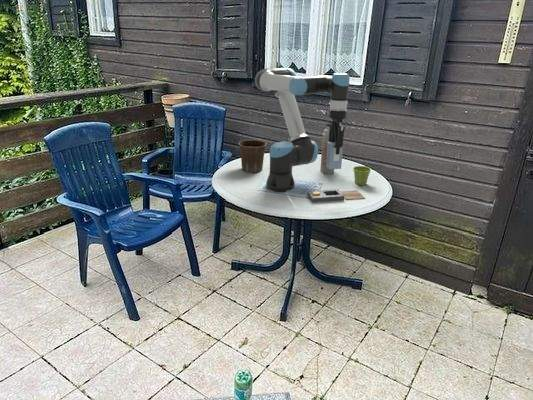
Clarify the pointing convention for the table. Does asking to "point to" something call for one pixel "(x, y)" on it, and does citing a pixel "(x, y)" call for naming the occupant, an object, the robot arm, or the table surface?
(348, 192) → the walnut board
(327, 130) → the thermos bottle
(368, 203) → the table surface
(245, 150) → the plant pot
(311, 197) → the dark grey holder
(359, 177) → the plant pot
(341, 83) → the robot arm
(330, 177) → the table surface
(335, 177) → the table surface
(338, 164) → the light blue tall block
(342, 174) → the table surface
